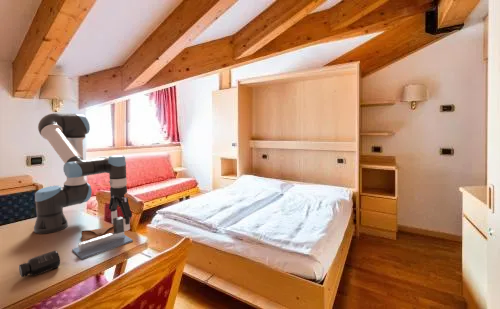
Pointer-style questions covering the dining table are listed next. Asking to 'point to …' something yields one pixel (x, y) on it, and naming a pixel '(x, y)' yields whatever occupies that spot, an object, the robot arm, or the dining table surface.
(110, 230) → the sunglasses case
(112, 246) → the mat
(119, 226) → the grey mallet
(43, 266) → the supplement bottle
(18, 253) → the dining table surface
